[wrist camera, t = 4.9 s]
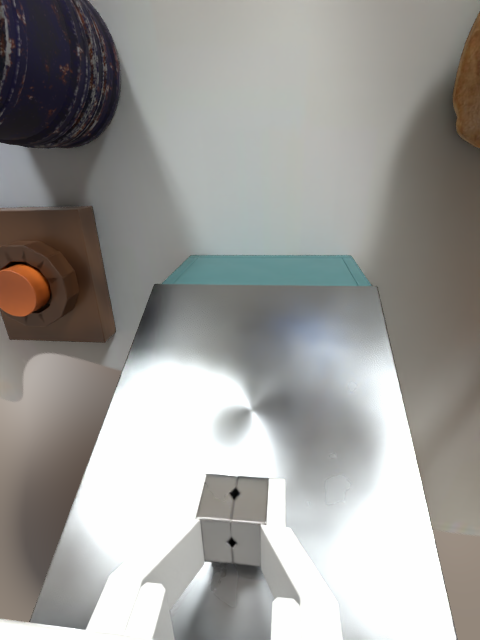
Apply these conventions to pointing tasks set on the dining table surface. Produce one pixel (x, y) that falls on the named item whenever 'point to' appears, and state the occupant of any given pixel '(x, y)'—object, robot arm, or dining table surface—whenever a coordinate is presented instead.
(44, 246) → the button block
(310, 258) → the tea tin
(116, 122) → the dining table surface
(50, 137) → the oil barrel
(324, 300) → the lid
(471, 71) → the stone cup
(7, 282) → the button
